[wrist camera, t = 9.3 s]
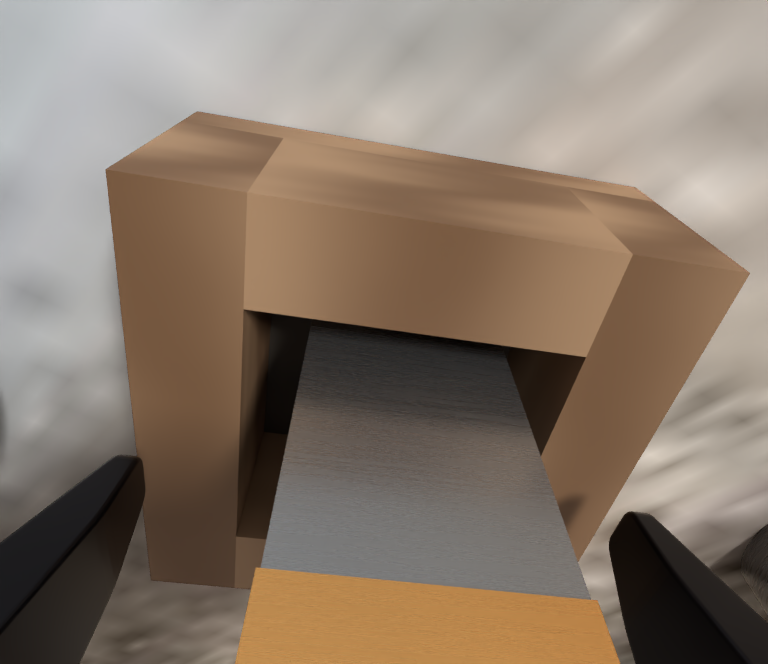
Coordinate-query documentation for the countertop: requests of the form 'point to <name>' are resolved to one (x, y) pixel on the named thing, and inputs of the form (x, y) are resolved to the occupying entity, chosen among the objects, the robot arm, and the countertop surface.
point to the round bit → (757, 567)
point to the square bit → (415, 517)
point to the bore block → (383, 311)
